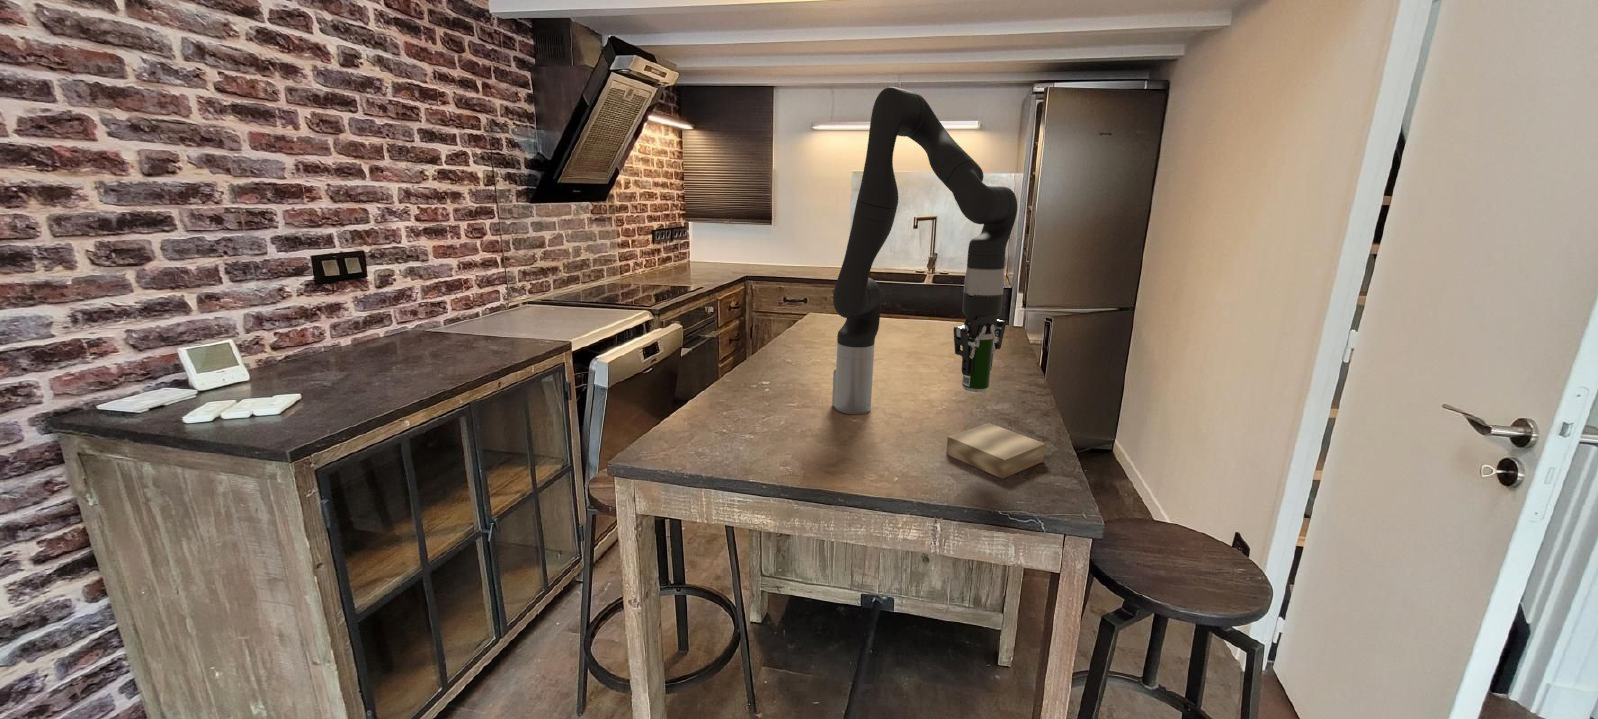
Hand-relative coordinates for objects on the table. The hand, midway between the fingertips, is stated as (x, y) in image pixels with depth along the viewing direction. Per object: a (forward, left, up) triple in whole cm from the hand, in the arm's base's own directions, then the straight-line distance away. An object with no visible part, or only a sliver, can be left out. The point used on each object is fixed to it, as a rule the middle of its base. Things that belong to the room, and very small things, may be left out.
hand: (976, 372), depth 126 cm
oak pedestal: (+4, +3, -18) cm, 19 cm away
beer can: (0, 0, -4) cm, 4 cm away
